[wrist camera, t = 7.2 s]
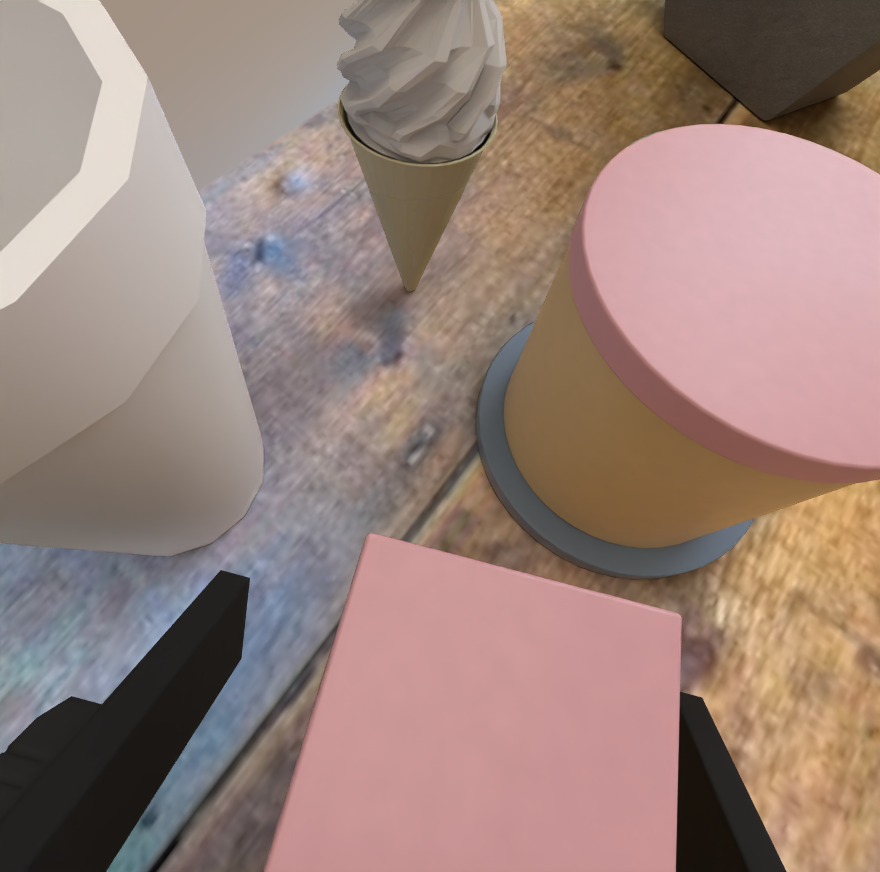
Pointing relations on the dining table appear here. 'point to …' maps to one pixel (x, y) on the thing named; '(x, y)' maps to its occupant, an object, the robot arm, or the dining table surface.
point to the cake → (694, 353)
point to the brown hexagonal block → (779, 47)
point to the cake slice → (486, 726)
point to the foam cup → (108, 307)
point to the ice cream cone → (420, 111)
